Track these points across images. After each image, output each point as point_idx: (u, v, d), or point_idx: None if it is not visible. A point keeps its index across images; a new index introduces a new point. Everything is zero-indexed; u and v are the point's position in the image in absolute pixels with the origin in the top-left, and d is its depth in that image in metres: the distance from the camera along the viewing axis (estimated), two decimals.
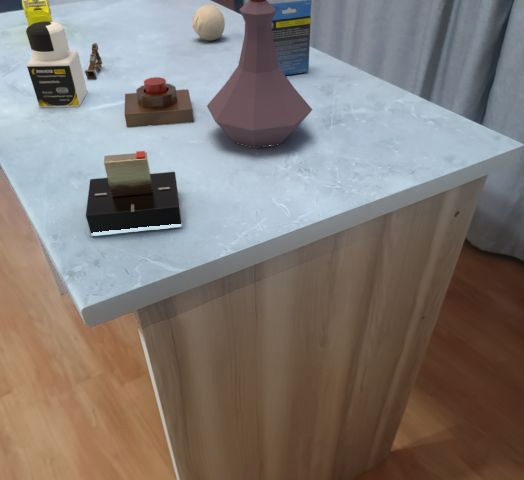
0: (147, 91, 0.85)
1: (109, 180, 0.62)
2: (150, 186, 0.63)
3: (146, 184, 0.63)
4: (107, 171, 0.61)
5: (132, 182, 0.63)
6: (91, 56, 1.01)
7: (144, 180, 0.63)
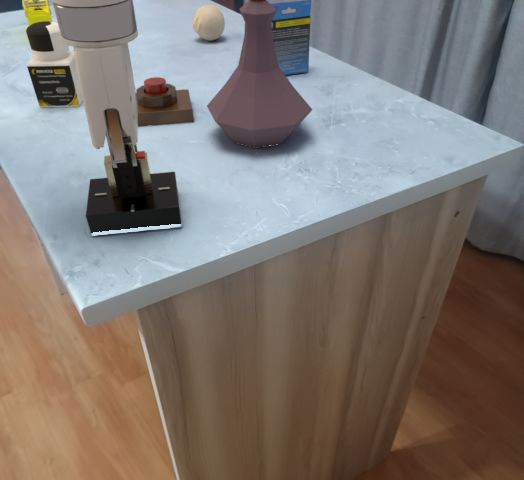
0: (147, 91, 0.85)
1: (109, 180, 0.62)
2: (150, 186, 0.63)
3: (146, 184, 0.63)
4: (107, 171, 0.61)
5: None
6: None
7: (144, 180, 0.63)
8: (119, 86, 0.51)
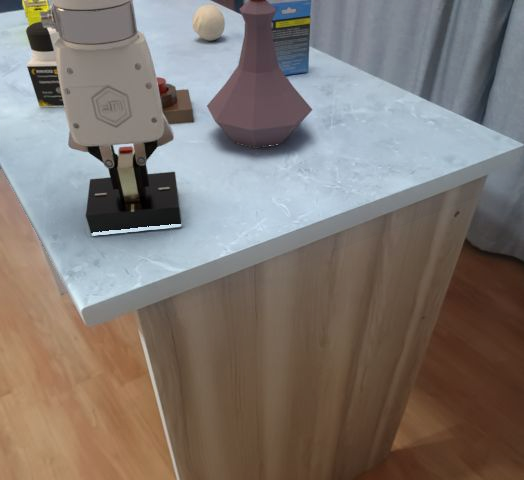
0: None
1: (136, 184, 0.61)
2: None
3: None
4: (134, 174, 0.60)
5: None
6: None
7: None
8: None
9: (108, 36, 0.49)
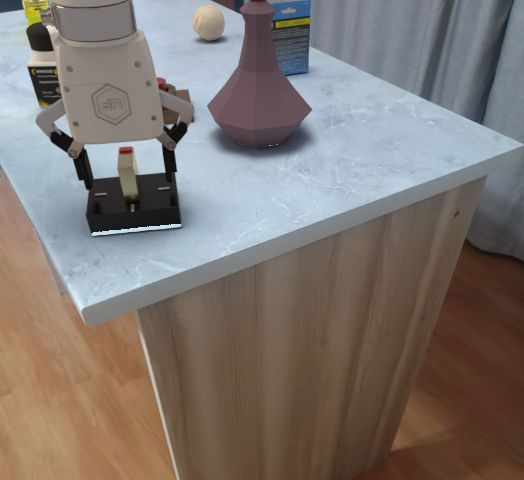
0: None
1: (136, 184, 0.61)
2: (138, 175, 0.65)
3: (138, 174, 0.65)
4: (134, 174, 0.60)
5: (137, 177, 0.63)
6: None
7: (137, 171, 0.64)
8: None
9: (108, 34, 0.49)
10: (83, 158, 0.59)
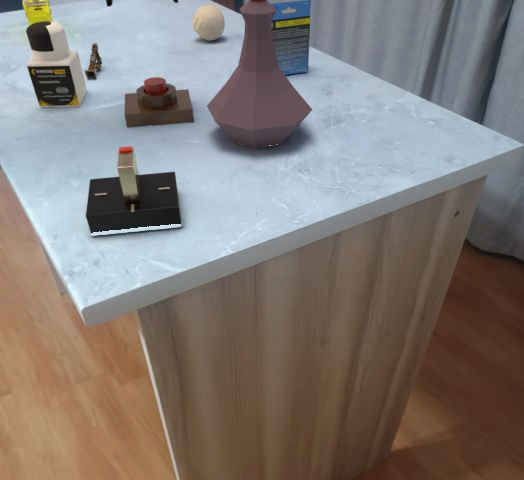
0: (147, 91, 0.85)
1: (136, 184, 0.61)
2: (138, 175, 0.65)
3: (138, 174, 0.65)
4: (134, 174, 0.60)
5: (137, 177, 0.63)
6: (91, 56, 1.01)
7: (137, 171, 0.64)
8: None
9: None
10: None
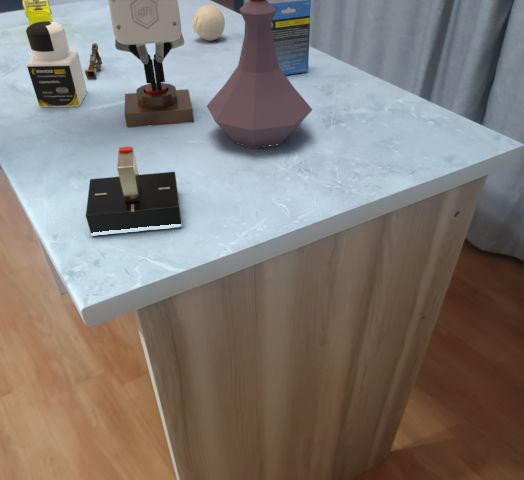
0: None
1: (136, 184, 0.61)
2: (138, 175, 0.65)
3: (138, 174, 0.65)
4: (134, 174, 0.60)
5: (137, 177, 0.63)
6: (91, 56, 1.01)
7: (137, 171, 0.64)
8: None
9: None
10: (151, 64, 0.82)
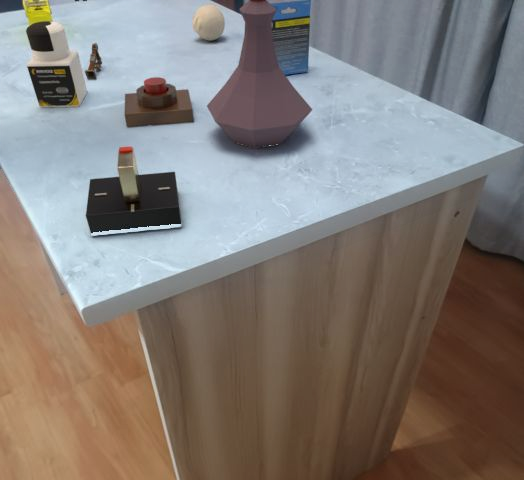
0: (147, 91, 0.85)
1: (136, 184, 0.61)
2: (138, 175, 0.65)
3: (138, 174, 0.65)
4: (134, 174, 0.60)
5: (137, 177, 0.63)
6: (91, 56, 1.01)
7: (137, 171, 0.64)
8: None
9: None
10: None
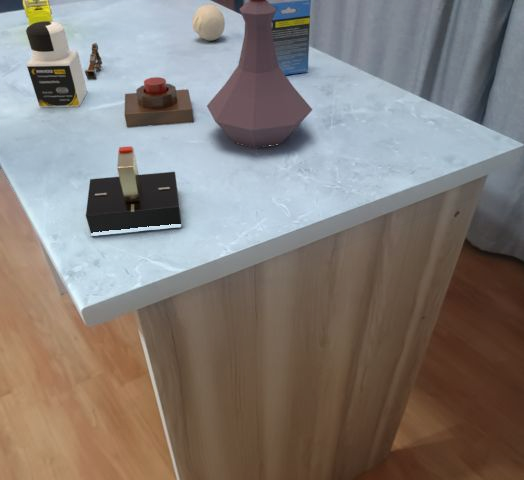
0: (147, 91, 0.85)
1: (136, 184, 0.61)
2: (138, 175, 0.65)
3: (138, 174, 0.65)
4: (134, 174, 0.60)
5: (137, 177, 0.63)
6: (91, 56, 1.01)
7: (137, 171, 0.64)
8: None
9: None
10: None
